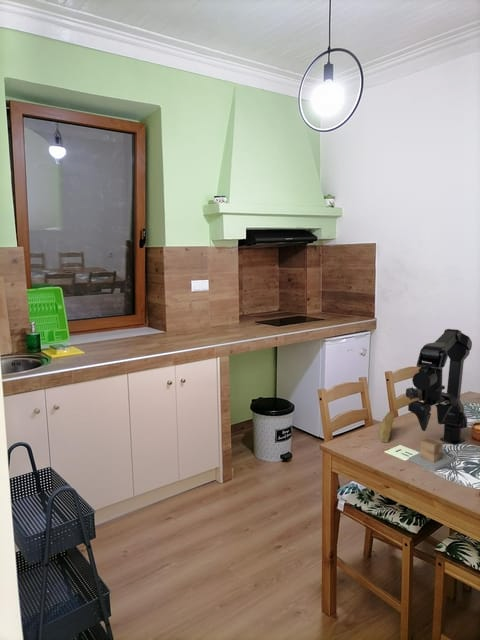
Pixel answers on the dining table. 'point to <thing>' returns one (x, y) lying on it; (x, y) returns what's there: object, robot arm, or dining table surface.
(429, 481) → the dining table surface
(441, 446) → the block
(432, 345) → the robot arm
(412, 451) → the pale cream tile
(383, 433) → the rock
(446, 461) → the slate board
